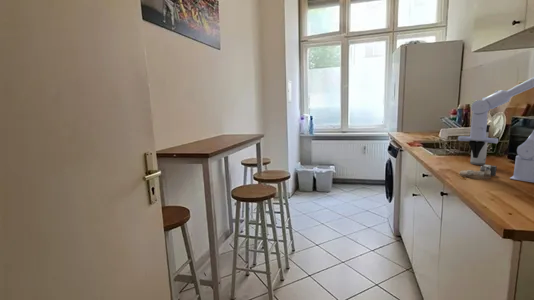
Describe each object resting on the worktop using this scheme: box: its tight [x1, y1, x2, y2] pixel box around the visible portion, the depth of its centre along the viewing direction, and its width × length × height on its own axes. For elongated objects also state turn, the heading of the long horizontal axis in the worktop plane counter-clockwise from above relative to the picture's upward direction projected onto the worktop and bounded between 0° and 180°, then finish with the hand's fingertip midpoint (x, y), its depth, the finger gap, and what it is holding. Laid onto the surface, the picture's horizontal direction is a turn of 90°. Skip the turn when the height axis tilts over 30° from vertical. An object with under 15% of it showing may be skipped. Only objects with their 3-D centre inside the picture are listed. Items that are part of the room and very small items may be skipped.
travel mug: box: [469, 124, 491, 166], centre depth 146 cm, size 6×7×20 cm
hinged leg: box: [479, 163, 493, 172], centre depth 126 cm, size 7×2×3 cm, turn 126°
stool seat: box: [459, 169, 491, 180], centre depth 125 cm, size 11×11×3 cm
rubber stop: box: [490, 165, 498, 177], centre depth 126 cm, size 1×2×4 cm, turn 128°
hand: (475, 157), depth 130 cm, fingers closed
